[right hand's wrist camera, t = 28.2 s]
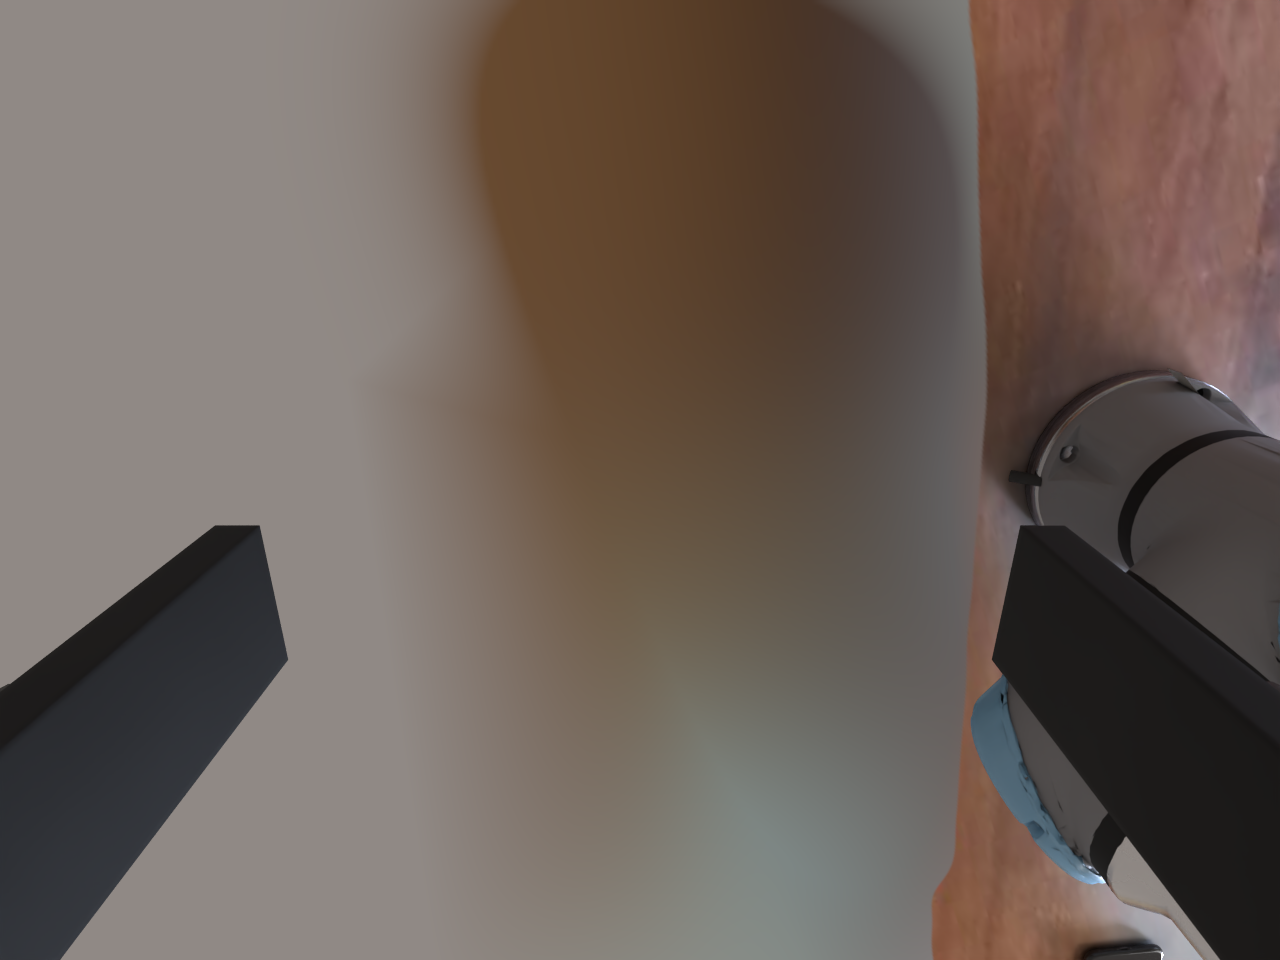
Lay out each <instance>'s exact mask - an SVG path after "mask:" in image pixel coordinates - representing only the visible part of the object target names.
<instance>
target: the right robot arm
mask: <svg viewBox="0 0 1280 960" xmlns="http://www.w3.org/2000/svg"><path fill="white" fill-rule="evenodd" d="M1167 369H1168V368H1167ZM1168 370H1169V371H1170V372H1167V371H1140V372H1133V373H1128V374H1124V375H1120V376H1117V377H1114V378H1111V379H1109V380H1106V381H1104V382H1102V383H1099V384H1097V385H1095V386H1093V387H1092V388H1090V389H1088V390H1087V391H1085V392H1083V393H1082V394H1080V395H1079V396H1078V397H1076V398H1075V399H1074V400H1072V401H1071V402H1070V403H1069V404H1067V405H1066V406H1065V407H1064V408H1063V409H1062V410H1061V411H1060V412H1059V413H1058V414H1057V415H1056V416H1055V417H1054V419H1053V420H1052V421H1051V422H1050V423H1049V425H1048V426H1047V427H1046V429H1045V430H1044V432H1043V433H1042V435H1041V437H1040V438H1039V440H1038V442H1037V444H1036V446H1035V448H1034V450H1033V453H1032V456H1031V458H1030V462H1029V465H1028V470H1027V473H1025V472H1019V471H1013V470H1011V472H1010V476H1009V481H1010V482H1016V483H1022V484H1026V497H1027V503H1028V507H1029V510H1030V513H1031V515H1032V518H1033V520H1034V521H1035V523H1036V525H1037V526H1020V530H1019V535H1018V539H1017V544H1016V549H1015V554H1014V558H1013V563H1012V568H1011V572H1010V577H1009V582H1008V586H1007V591H1006V596H1005V601H1004V605H1003V610H1002V615H1001V619H1000V624H999V629H998V633H997V638H996V643H995V647H994V652H993V657H992V660H993V662H994V663H995V664H996V666H997V667H998V668H999V670H1000V671H1001V672H1002V674H1003V675H1002V677H1001V678H1000V679H999V680H998V681H997V682H996V683H995V684H994V685H992V686H991V687H990V688H989V689H988V690H987V691H986V692H985V693H984V694H983V695H982V696H981V697H980V698H979V699H978V700H977V702H976V703H975V705H974V709H973V715H972V717H971V730H972V736H973V740H974V743H975V746H976V749H977V752H978V754H979V757H980V759H981V761H982V763H983V765H984V767H985V769H986V771H987V773H988V775H989V777H990V779H991V780H992V782H993V784H994V786H995V787H996V789H997V791H998V792H999V794H1000V795H1001V797H1002V799H1003V800H1004V802H1005V803H1006V805H1007V806H1008V808H1009V809H1010V811H1011V812H1012V813H1013V815H1014V816H1015V817H1016V819H1017V820H1018V821H1019V822H1020V823H1023V824H1024V825H1025V826H1027V827H1028V830H1029V832H1030V833H1031V835H1032V837H1033V839H1034V841H1035V842H1036V843H1037V844H1038V846H1039V847H1040V848H1041V849H1042V850H1043V851H1044V852H1045V854H1046V855H1047V856H1048V857H1049V858H1050V859H1051V860H1052V861H1053V862H1054V863H1056V864H1057V865H1058V866H1059V867H1060V868H1061V869H1062V870H1064V871H1065V872H1066V873H1067V874H1069V875H1070V876H1072V877H1073V878H1075V879H1077V880H1080V881H1082V882H1085V883H1088V884H1095V883H1107V885H1108V886H1109V887H1110V889H1111V891H1112V892H1113V893H1114V894H1115V895H1116V897H1117V898H1118V899H1119V900H1121V901H1122V902H1123V903H1125V904H1127V905H1130V906H1133V907H1136V908H1140V909H1143V910H1147V911H1150V912H1154V913H1157V914H1161V915H1164V916H1166V917H1168V918H1169V919H1171V920H1172V921H1173V922H1174V923H1175V925H1176V926H1177V927H1178V929H1179V930H1180V931H1181V932H1182V934H1183V935H1184V936H1185V937H1186V939H1187V940H1188V941H1189V942H1190V944H1191V945H1192V946H1193V947H1194V949H1195V950H1196V951H1197V952H1198V954H1199V955H1200V956H1201V957H1202V959H1203V960H1280V441H1279V440H1276V439H1274V438H1271V437H1269V436H1266V435H1265V434H1264V433H1263V432H1262V431H1261V430H1260V429H1259V428H1258V427H1257V426H1256V425H1255V424H1254V423H1253V422H1252V421H1251V420H1250V419H1249V418H1248V417H1247V416H1246V415H1245V414H1244V413H1243V412H1242V411H1241V410H1240V409H1239V408H1238V407H1237V406H1236V405H1235V404H1234V403H1233V402H1232V401H1231V400H1230V399H1229V398H1228V397H1227V396H1226V395H1225V394H1224V393H1222V392H1221V391H1220V390H1218V389H1217V388H1215V387H1213V386H1211V385H1209V384H1207V383H1205V382H1202V381H1199V380H1196V379H1193V378H1190V377H1187V376H1184V375H1183V374H1182V373H1180V372H1177V371H1174V370H1171V369H1168ZM287 660H288V657H287V652H286V647H285V643H284V638H283V633H282V629H281V624H280V619H279V615H278V610H277V605H276V601H275V596H274V591H273V587H272V582H271V577H270V572H269V568H268V563H267V558H266V554H265V549H264V544H263V540H262V535H261V530H260V526H214V527H213V528H211V529H210V530H209V531H207V532H206V533H205V534H204V535H202V536H201V537H200V538H198V539H197V540H196V541H195V542H193V543H192V544H191V545H189V546H188V547H187V548H185V549H184V550H183V551H182V552H180V553H179V554H178V555H176V556H175V557H174V558H173V559H171V560H170V561H169V562H167V563H166V564H165V565H163V566H162V567H161V568H160V569H158V570H157V571H156V572H154V573H153V574H152V575H151V576H149V577H148V578H147V579H145V580H144V581H143V582H142V583H140V584H139V585H138V586H136V587H135V588H134V589H132V590H131V591H130V592H129V593H127V594H126V595H125V596H123V597H122V598H121V599H120V600H118V601H117V602H116V603H114V604H113V605H112V606H111V607H109V608H108V609H107V610H105V611H104V612H103V613H102V614H100V615H99V616H98V617H96V618H95V619H94V620H92V621H91V622H90V623H89V624H87V625H86V626H85V627H83V628H82V629H81V630H80V631H78V632H77V633H76V634H74V635H73V636H72V637H70V638H69V639H68V640H67V641H65V642H64V643H63V644H61V645H60V646H59V647H58V648H56V649H55V650H54V651H52V652H51V653H50V654H49V655H47V656H46V657H45V658H43V659H42V660H41V661H39V662H38V663H37V664H36V665H34V666H33V667H32V668H30V669H29V670H28V671H27V672H25V673H24V674H23V675H21V676H20V677H19V678H17V679H16V680H15V681H14V682H12V683H11V684H7V685H6V686H4V687H2V688H0V960H60V959H61V958H62V957H63V955H64V954H65V953H66V951H67V950H68V949H69V947H70V946H71V945H72V943H73V942H74V941H75V939H76V938H77V937H78V935H79V934H80V933H81V932H82V930H83V929H84V928H85V926H86V925H87V924H88V922H89V921H90V920H91V918H92V917H93V916H94V914H95V913H96V912H97V910H98V909H99V908H100V907H101V905H102V904H103V903H104V901H105V900H106V899H107V897H108V896H109V895H110V893H111V892H112V891H113V889H114V888H115V887H116V885H117V884H118V883H119V882H120V880H121V879H122V878H123V876H124V875H125V874H126V872H127V871H128V870H129V868H130V867H131V866H132V864H133V863H134V862H135V860H136V859H137V858H138V857H139V855H140V854H141V853H142V851H143V850H144V849H145V847H146V846H147V845H148V843H149V842H150V841H151V839H152V838H153V837H154V835H155V834H156V833H157V832H158V830H159V829H160V828H161V826H162V825H163V824H164V822H165V821H166V820H167V818H168V817H169V816H170V814H171V813H172V812H173V810H174V809H175V808H176V807H177V805H178V804H179V803H180V801H181V800H182V799H183V797H184V796H185V795H186V793H187V792H188V791H189V789H190V788H191V787H192V785H193V784H194V783H195V782H196V780H197V779H198V778H199V776H200V775H201V774H202V772H203V771H204V770H205V768H206V767H207V766H208V764H209V763H210V762H211V760H212V759H213V758H214V757H215V755H216V754H217V752H218V751H219V750H220V749H221V747H222V746H223V745H224V743H225V742H226V741H227V739H228V738H229V737H230V735H231V734H232V733H233V732H234V730H235V729H236V728H237V726H238V725H239V724H240V722H241V721H242V720H243V718H244V717H245V716H246V714H247V713H248V712H249V710H250V709H251V708H252V707H253V705H254V704H255V703H256V701H257V700H258V699H259V697H260V696H261V695H262V693H263V692H264V691H265V689H266V688H267V687H268V685H269V684H270V683H271V682H272V680H273V679H274V677H275V676H276V675H277V674H278V672H279V671H280V670H281V668H282V667H283V666H284V664H285V663H286V662H287Z"/></svg>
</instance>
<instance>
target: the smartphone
mask: <svg viewBox="0 0 1280 960" xmlns="http://www.w3.org/2000/svg"><path fill="white" fill-rule="evenodd" d="M1162 959H1163V951H1162V949H1161V948H1160V947H1159V946H1158V945H1155V944H1146V945H1135V946H1125V947H1114V948H1104V949H1095V950H1090V951H1088V952H1087V953H1086V954H1085V956H1084V960H1162Z"/></svg>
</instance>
